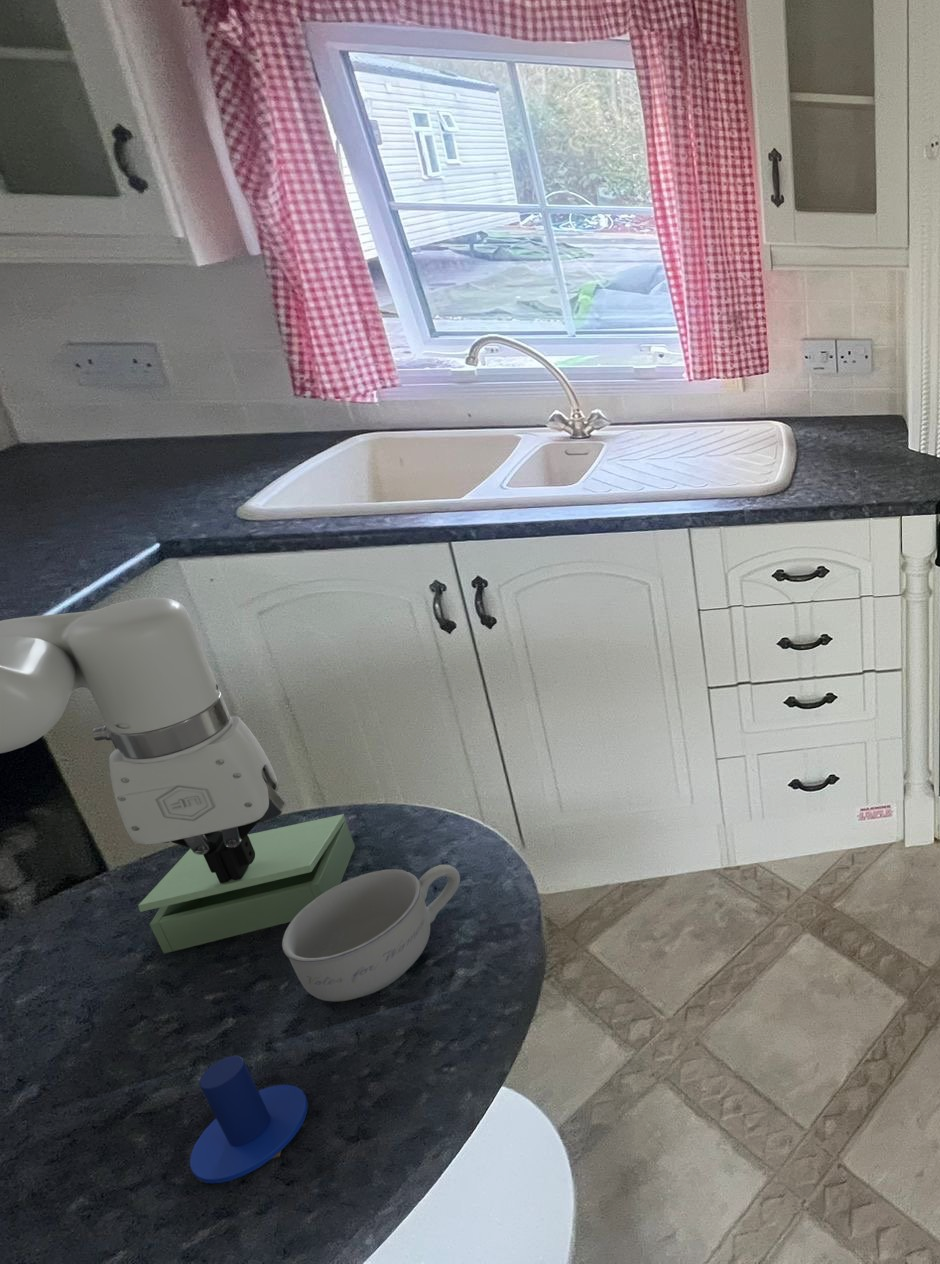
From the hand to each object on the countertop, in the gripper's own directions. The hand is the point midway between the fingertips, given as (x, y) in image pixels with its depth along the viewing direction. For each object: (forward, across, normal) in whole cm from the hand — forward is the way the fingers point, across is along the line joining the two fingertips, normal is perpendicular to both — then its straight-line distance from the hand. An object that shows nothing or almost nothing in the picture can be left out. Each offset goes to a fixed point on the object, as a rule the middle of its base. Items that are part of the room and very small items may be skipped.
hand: (237, 870), depth 84 cm
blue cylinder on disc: (+7, +7, -25) cm, 27 cm away
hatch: (+2, 0, +3) cm, 3 cm away
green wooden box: (+7, 0, +3) cm, 8 cm away
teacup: (+8, +14, -10) cm, 19 cm away
